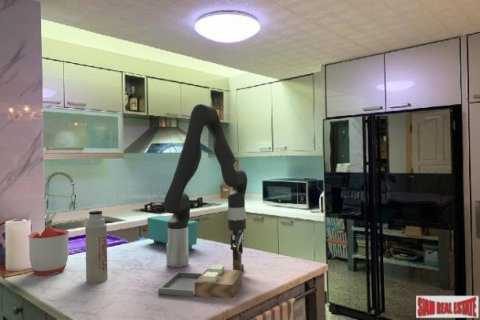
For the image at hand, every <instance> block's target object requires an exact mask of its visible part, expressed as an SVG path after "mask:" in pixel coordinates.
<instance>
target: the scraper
mask: <svg viewBox="0 0 480 320" xmlns="http://www.w3.org/2000/svg"><path fill="white" fill-rule="evenodd" d="M232 270H242V273H243V272H244V270H245V267H244V263H242V254H241V252H238V260H234V259H233V258H232Z"/></svg>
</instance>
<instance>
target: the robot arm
mask: <svg viewBox="0 0 480 320" xmlns="http://www.w3.org/2000/svg"><path fill="white" fill-rule="evenodd" d="M187 127H188V128H187V131H186V134H185V138H184V142H183V146H182V149H181V152H180V155H179V159H178V162H177V165H176V169H175V172H174V174H173V177H172V180H171V183H170V185H169V188H168V190H167V192H166V194H165V197H164V200H163V207H164V210H165V211H166V213H168V214H172V216H171V217H172V218H171V219H170V220H169V221H168V244H167V243H166V245H165V247H166V250H165V251H166V252H165V253H166V255H165V256H166V266H169V267H171V268H181V267H182V268H183V267H186V266H187V265H189V263H190V262H189V250H188V222H189V220H190V218H191V217H190V215H191V200H190V197H189V195H188V194H187V193H186V192H185V189H186V187H187V185H188V184H189V182H190V181H191V180H192V178H193V177H194V176H195V174H196V172H197V171H198V168H199V165H200V162H201V160H202V154H203V152H202V144H201V140H202V139H201V138H202V133H203V131H204V127H206V128H207V130H208V132H209V133H210V135H211V138H212V148H213V153H214V155H215V157H216V160H217V161H218V164H219V167H220V171H221V176H222V177H221V178H222V179H223V182H224V184H225V186H227V187H229V188H232V191H231V192H230V193H229V194H228V196H227V206H228V207H227V230H229V231H232V234H230V235H229V237H230V250H231V251H232V260H233V259H234V260H238V252H241V255H242V254H243V253H244V250H243V249H244V247H243V246H244V242H245V239H244V238H245V237H244V236H245V235H244V233H245V232H244V230H246V229H247V215H246V213H247V212H246V203H245V202H246V199H245V195H246V191H247V188H248V187H247V186H248V176H247V174H246V172H245V171H244V170H243V169H235V164H236V157H235V155H234V153H233V151H232V148H231V146H230V145H229V143H228V140H227V138H226V135H225V133H224V129H223V126H222V123H221V119H220V116H219V112H218V111H217V109H216V108H215V107H214V106H211V105H207V104H204V103H198V104H197V103H196V105H194V107H193V108H192V110H191V113H190V116H189V122H188V126H187Z"/></svg>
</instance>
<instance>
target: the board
mask: <svg viewBox="0 0 480 320" xmlns="http://www.w3.org/2000/svg"><path fill="white" fill-rule="evenodd" d="M210 268H211V267H210ZM210 268H209V267H208V268H207V269H206V270H205V271H204V272H202V273H203V274H202V275H201V276H200V277H199V278H198V279H197V280H196V281H195V282H194V283H195V296H194V297H200V298H212V299H224V298H226V300H227V299H228V300H234V298H235V296H236V295H237V293H238V291H239V290H240V288H241V286H242V285H243V272H242V270H233V269H225V268H224V272H223V273H222V274H221V275H219V278H218V279H217V281H216V282H203V275H204V274H205V273H206V272H210Z"/></svg>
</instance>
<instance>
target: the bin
mask: <svg viewBox="0 0 480 320" xmlns="http://www.w3.org/2000/svg"><path fill="white" fill-rule="evenodd" d="M203 273H204V272H201V273H200V272H186V271H185V272H184V271H177V272H176V273H174V274H173V275H172V276H171V277H170V278H169V279H167V281H165V282H164V283H162V284H161V285H160V286H159V287H158V289H157V290H158V293H157V294H158V296H162V297H163V296H164V297H177V298H189V299H190V298H191V299H193V298H194V297H196V296H195V283H194V282H195V281H196V280H197V279H198V278H199V277H200V276H201V275H202V274H203Z"/></svg>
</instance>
